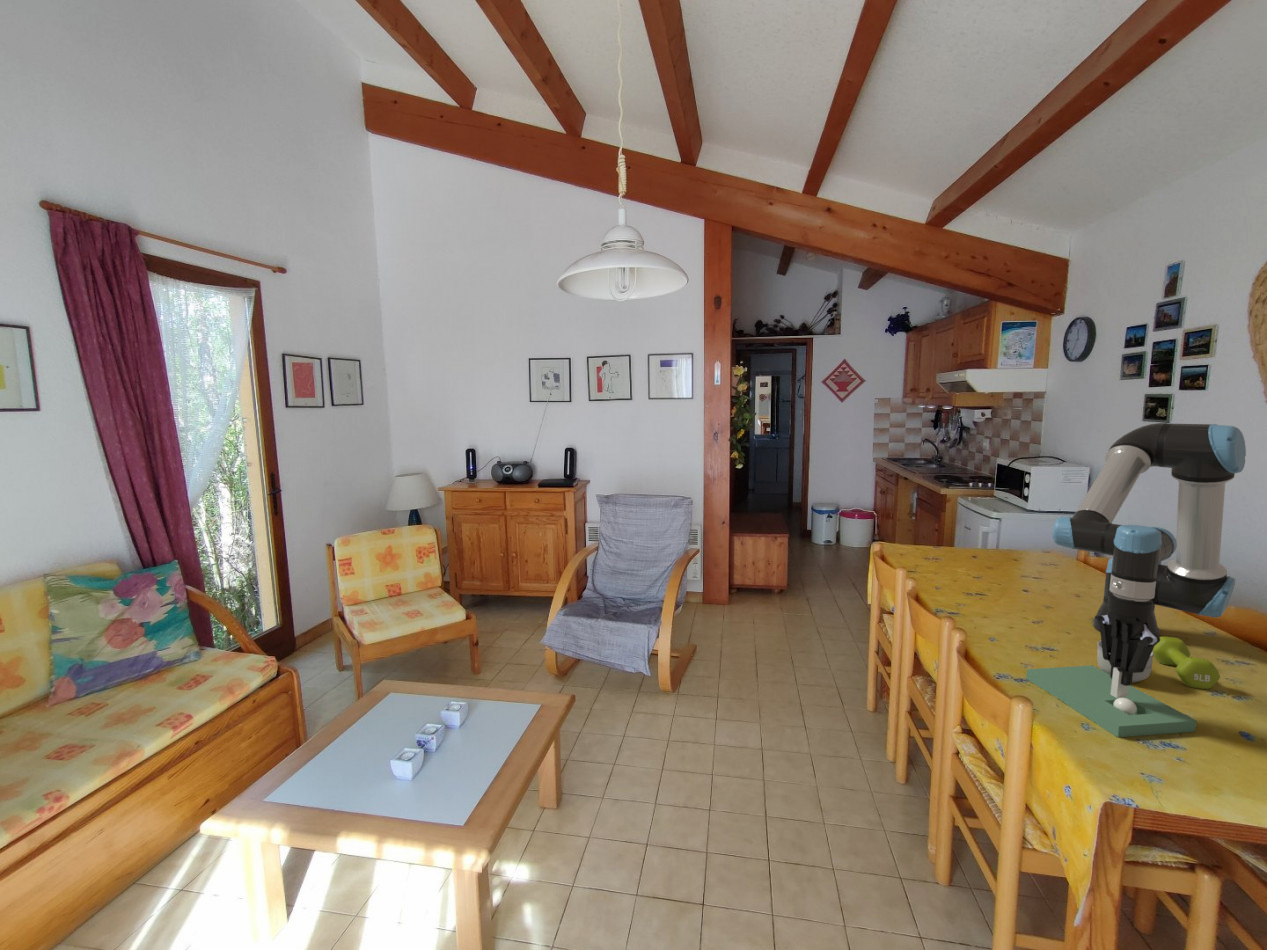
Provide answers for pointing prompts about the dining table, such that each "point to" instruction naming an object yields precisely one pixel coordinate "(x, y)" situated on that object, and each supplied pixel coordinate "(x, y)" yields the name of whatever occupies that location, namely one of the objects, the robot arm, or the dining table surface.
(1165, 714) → the putting mat
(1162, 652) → the dumbbell
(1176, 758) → the dining table surface
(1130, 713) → the ball
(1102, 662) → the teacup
